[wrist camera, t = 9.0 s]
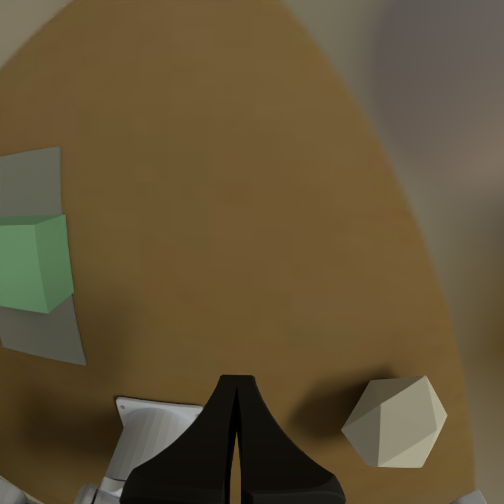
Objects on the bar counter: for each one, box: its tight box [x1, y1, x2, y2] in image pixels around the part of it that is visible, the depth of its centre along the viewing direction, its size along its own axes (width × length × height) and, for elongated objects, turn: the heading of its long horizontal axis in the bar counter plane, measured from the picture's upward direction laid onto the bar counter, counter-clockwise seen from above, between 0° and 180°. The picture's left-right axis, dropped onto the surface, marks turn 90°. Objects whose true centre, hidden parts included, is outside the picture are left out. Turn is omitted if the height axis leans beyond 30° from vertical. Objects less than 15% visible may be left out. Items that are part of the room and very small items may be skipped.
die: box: [341, 375, 447, 468], centre depth 21 cm, size 8×9×10 cm
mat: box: [0, 146, 87, 366], centre depth 21 cm, size 18×11×1 cm, turn 178°
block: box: [0, 214, 74, 314], centre depth 19 cm, size 6×4×9 cm
